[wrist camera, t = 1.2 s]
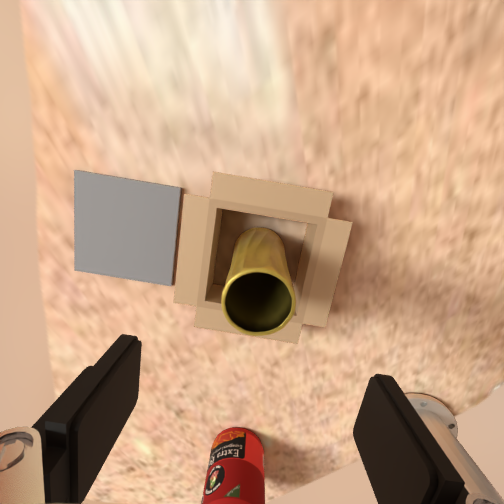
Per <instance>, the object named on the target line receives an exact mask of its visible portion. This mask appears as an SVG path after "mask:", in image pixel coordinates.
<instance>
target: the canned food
mask: <svg viewBox="0 0 504 504" xmlns="http://www.w3.org/2000/svg"><path fill="white" fill-rule="evenodd" d="M201 504H265V482H264V450H263V447H262V444H261V441H260V440H259V438H258V437H257V436H256V435H255V434H254V433H253V432H251V431H249V430H247V429H244V428H229V429H226V430H224V431H222V432H221V433H220V434H219V435H218V436H217V437H216V439H215V441H214V443H213V445H212V449H211V454H210V459H209V465H208V470H207V476H206V481H205V486H204V492H203V497H202V502H201Z"/></svg>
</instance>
